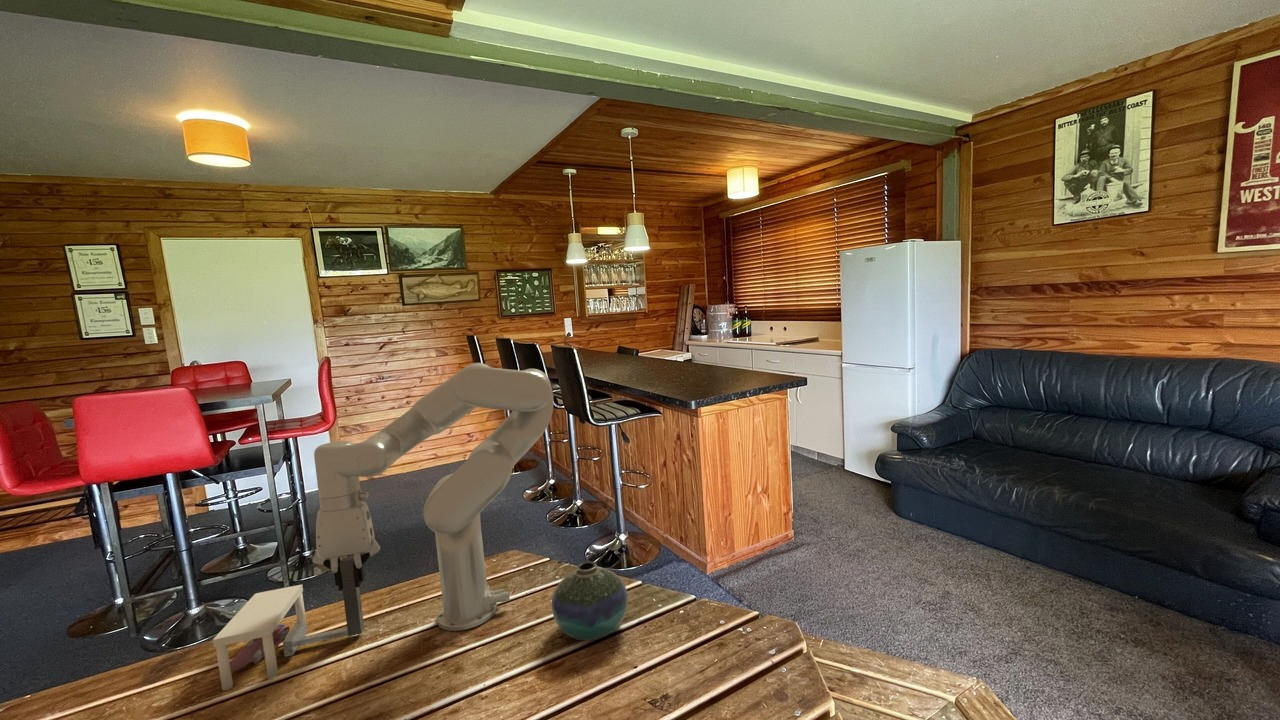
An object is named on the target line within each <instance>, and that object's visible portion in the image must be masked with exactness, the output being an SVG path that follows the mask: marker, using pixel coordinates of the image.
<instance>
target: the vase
mask: <svg viewBox="0 0 1280 720" xmlns="http://www.w3.org/2000/svg"><path fill="white" fill-rule="evenodd" d="M628 599H629V598H628V590H627V588H626V584H625V583H624V581H623V580H622V578H620V576H619V575H617V574H616V573H615V572H613V571H612V570H609V569H607V568H604V567H601V566H597V563H595V562H593V561H584V562H581V563H580V564H578V565H577V566H576V569H575V570H573V571H571V572H570V573H569V574H568V575H566V576H565V577H564V578H563V579H561V580H560V582H559V583H558V584H557V586H556V587H555V589H554V592H553V594H552V599H551V612H552V615H553V618H554V621H555V623H556V624H557V626H558V628H559V629H560V630H561V631H562V632H563V633H564V634H565V635H567V636H568V637H570V638H573V639H576V640H579V641H594V640H598V639H601V638H604V637H606V636H608V635H610V634H612V633H613V632H614V631H615V630H616V629H617V628H618V627H620V625H621V623H622V621H623V620H624V617H625V616H626V612H627V610H628V609H627V608H628V604H629V602H628Z"/></svg>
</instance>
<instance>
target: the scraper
mask: <svg viewBox="0 0 1280 720" xmlns="http://www.w3.org/2000/svg"><path fill="white" fill-rule="evenodd" d="M354 569H355V560H354V555H349V556H343V557H341V561H340V572H341V577H342V586H343V590H342V595H343V596H342V597H343V605H344V612H345V613H344V614H345V620H346V621H345V622H346V627H342V628H337V629H332V630H329V631H324V632H318V633H313V634H308V635H307V632H308V631H307V630H306V625H307V622H306V623H305V620H301V621H297V620H296V623H294V625H293V626H292V628H291V630H289V632H288V634H287V636H286V637H285V638H284V639H283V640H282V646H283V647H282V648H283V654H284V655H283V656H284V657H285V658H286V657H290V656H293V655H295V652H296V651H297V649H298V648H299V646H303V645H307V644H309V645H310V644H313V643H318V642H322V641H327V640H333V639H337V638H342V637H345V636H348V637H352V636H356V635H360V634H363V631H364V628H365V624H364V614H363V607H362V598H361V597H362V596H361V589H360V587H357V588H356V587H355V581H354V573H353V570H354Z"/></svg>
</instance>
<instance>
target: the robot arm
mask: <svg viewBox="0 0 1280 720" xmlns="http://www.w3.org/2000/svg"><path fill="white" fill-rule="evenodd" d="M554 402H555V401H554V393H553V386H552V384H551V381H550V378H549V376H548V375H547V374H546V373H545V372H544V371H542V370H540V369H537V368H527V369H523V370H520V369H519V370H518V369H507V368H501V367H500V368H499V367H493V366H489V365H488V364H486V363H482V362H473V363H471V364H467V366H464V367H463V368H462V369H461V370H460V371H458V372H457V373H455V374H454V375H452V376H451V377H450V378H448V379H446V380H445V381H444V382H442V383H441V384H440V385H438V386H436V387H435V388H434V389H433V390H431V391H429V392H428V393H427V394H424V395H423V396H422V397H421V398H420V399H418V400H417V401H416V402H414V404H413V405H412V406H411V407H410V408H409V410H407V411H405V413H403V414H402V415H400V417H398V418H396V419H395V420H394V421H392V422H391V423H389V424H388V425H387V426H384V427H383V428H382V429H381V430H379V431H377V432H376V433H374V434H373V435H371V436H370V437H368V438H367V439H365V440H362V441H360V442H358V443H353V442H352V441H350V440H341V441H339V440H337V441H331V442H327V443H324V444H320V445H318V446H317V447H316V448H315V449H314V451H313V452H314V453H313V457H314V458H313V459H314V466H315V474H316V475H315V476H316V483H317V489H318V490H317V492H318V499H319V507H320V509H319V510H318V511H317V513H316V523H315V544H316V545H315V547H316V550H315V553H314V555H313V558H312V561H311V562H312V563H313V564H316V565H320V566H321V565H322V566H323V567H326V568H327V569H329V570H330V572H331V573H333V574H334V575H333V576H334V583H335V586H337V589H338V592H341V591H343V586H342V577H341V572H340V561H341V560H342V558H344V557H349V556H354V560H355V569H354V570H353V573H354V581H355V587H356V588H357V587H359V588H360V587H361V586H362V582H364V580H365V577H366V576H365V569H364V568H365V567H364V564H365V563H366V562H367V561H368V560H369V558H371V557H373V556H374V555H376V554H377V553H379V551H380V550H381V545H380V544H379V542H377V540H376V539H375V532H374V531H375V530H374V526H373V520H372V517H371V512H370V509H369V505H368V504H367V501H363V500H365V499H368V498H369V497H370V496H369V494H370V493H369V492H368V491H363V490H362V488H361V484H360V483H361V482H360V477H361V478H367V477H368V478H371V477H377V476H379V475H381V474H383V473H385V472H386V471H387V470H388V469H390V468H391V466H392V465H393V464H394V463H395V462H396V461H397V460H399V459H400V458H402V457H403V456H404V455H406V454H407V453H408V452H410V451H411V450H413V449H414V448H416V447H417V446H418V445H419V444H421V443H423V442H424V441H425V440H427V439H429V438H430V437H433V436H435V435H438V434H441V433H443V432H445V431H446V430H447V429H449V428H450V427H452V426H453V425H454V424H455V423H457V422H458V421H460V420H461V419H462V418H464V417H465V416H467V415H469V413H471V412H472V411H474V410H475V409H477V408H483V409H491V410H499V411H500V410H503V411H512V412H510V414H509V415H508V416H507V417H506V418H505V419H504V420H503V421H502V422H501V423H500V424H499V426H498V427H497V428H495V429H494V430H493V431H492V433H490V434H489V435H488V436H487V437H486V438H485V439H484V440H482V441H481V442H480V443H479V444H478V445H476V446H475V447H474V448H473V449H472V451H471V452H470V454H468V455H469V456H468V457H467V459H466V460H465V461H464V462H463V463H462V464H461V465H460V466H459V467H458V468H457V469H456V470H455V471H454V472H453V473H450V474H447V475H445V476H444V477H442V478H440V479H439V480H438V481H437V482H436V484H435V485H434V487H433V489H432V490H431V492H430V493H429V496H428V497H427V499H426V501H425V503H424V506H423V512H422V513H423V520H424V522H425V524H426V526H427V527H428V529H430V530H431V531H432V532H434V533H435V544H436V553H437V554H436V555H437V562H438V564H437V565H438V570H439V571H438V573H439V581H440V591H441V597H442V605H443V608H441V610H440V611H439V612H438V614H437V616H436V621H437V625H438V627H439V628H440V629H442V630H445V631H449V632H450V631H451V632H457V631H458V632H459V631H465V630H469V629H473V628H475V627H477V626H480V625H482V624H484V623H485V622H487V621H489V620H490V619H491V618H492V617H493V616H494V615H495V613H496V611H497V609H498V605H497V604H498V603H504V602H505V603H506V602H508V601H511V600H510V599H511V597H510V592H509V590H508V591H504V588H500V589H497V590H493V589H490V584H488V582H487V571H486V570H487V569H486V563H485V553H484V545H483V541H484V540H483V535H482V524H481V512H482V511H484V510H485V508H486V507H487V506H489V504H490V503H491V502H492V501H494V500H495V498H496V497H497V496H498V495H499V494H500V493H501V492H502V491H503V490H504V489H505V487H506V486H507V484H508V483H509V481H510V479H511V476H512V474H513V473H512V472H513V468H514V466H516V465H517V463H518V462H519V461H520V460H521V459H522V458H523V457H524V456H525V454H526V453H528V451H530V450H531V448H532V447H533V446H535V444H536V443H537V442H538V441H539V440H540V438H541V437H542V436H543V434H544V433H545V432H546V430H547V428H548V426H549V425H550V422H551V419H552V416H553V412H554V404H555V403H554Z"/></svg>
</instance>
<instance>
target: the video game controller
mask: <svg viewBox="0 0 1280 720" xmlns="http://www.w3.org/2000/svg"><path fill="white" fill-rule="evenodd" d="M290 629H291V628H290V626H288V625H286V624H285V623H279V624H278V626H277V627H276V628H275V630H274V631H273V632H272V635H273V642H274V649H275V651H276V650H277V649H278V647H279V645H280V644H281V642H283V641H284V640H285V638H286V637H287V635H288V634H289V632H290V631H291V630H290ZM263 658H265V655H264V648H263V641H262V637H261V638H256V639H252V640H248V641H247V643H246V644H245V645H244V646H243V647H242V649H241V650H240V651H239V652H238V654H236V656H234V658H232V659H231V661H230V669H231V671H234V672H235V671H239V670H240V671H241V670H242V669H243V668H245V667H246V666H247V665H248V664H250V663H253V664H255V665H257V664H258V663H259V662H261V661H262V660H263ZM256 663H257V664H256Z"/></svg>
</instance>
